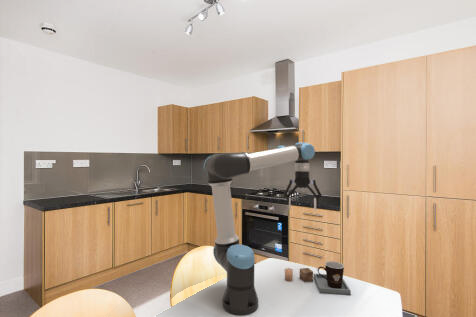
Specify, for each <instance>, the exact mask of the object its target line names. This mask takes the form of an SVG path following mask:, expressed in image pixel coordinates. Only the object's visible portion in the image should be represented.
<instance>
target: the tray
mask: <svg viewBox="0 0 476 317" xmlns="http://www.w3.org/2000/svg"><path fill="white" fill-rule="evenodd" d="M320 274H321V275H323V276H324V277H325V278H327V275H326V274H325V273H320ZM320 274H319V273H313V281H314V282H315V285H316V287H317V290H318V292H319V294H324V295H325V294H327V295H338V296H339V295H343V296H345V295H346V296H351V295H352V294H351V293H352V292H351V288H350V287H349V285H348V284H347V282H346V281H345V279H344V278H343V280H342V288H340V289H335V288H331V287H329V286H328V284H327V280H326V279H325V278H323V277H322V276H321V275H320Z"/></svg>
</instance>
